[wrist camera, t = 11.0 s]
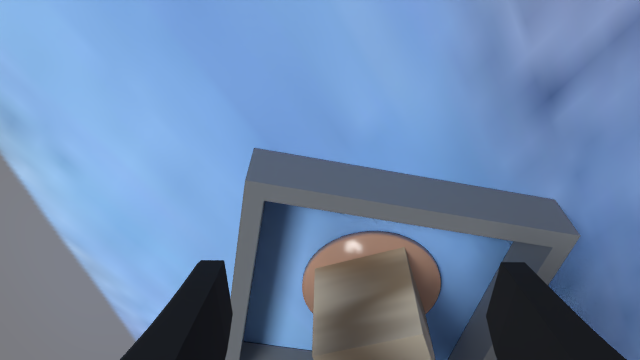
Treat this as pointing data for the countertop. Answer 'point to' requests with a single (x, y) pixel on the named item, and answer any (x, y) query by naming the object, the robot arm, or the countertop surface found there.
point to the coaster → (373, 244)
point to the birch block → (369, 310)
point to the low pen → (397, 206)
